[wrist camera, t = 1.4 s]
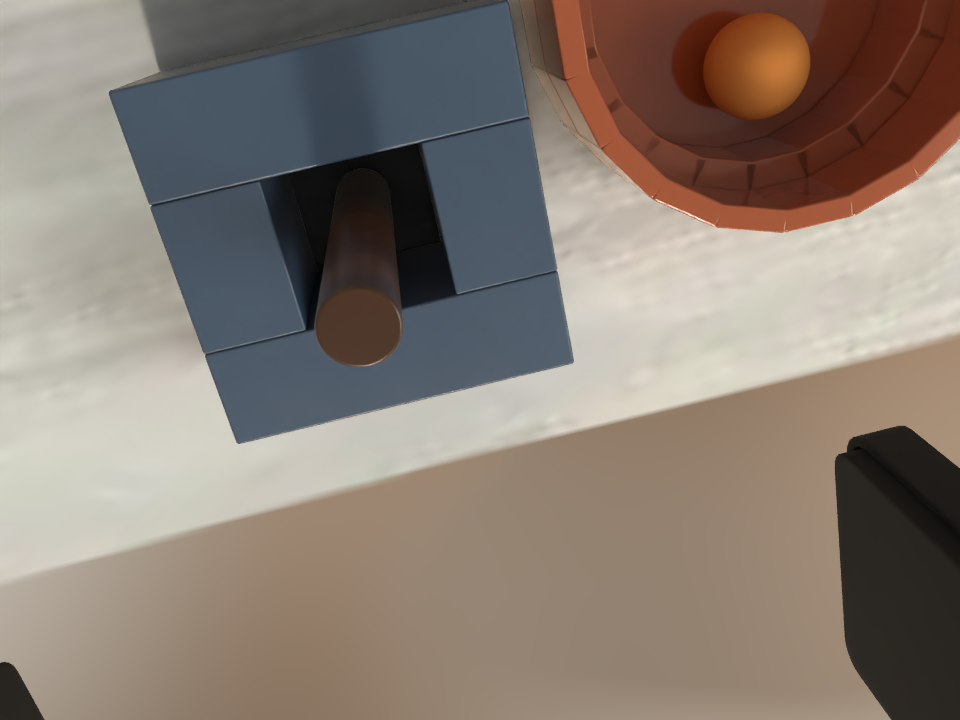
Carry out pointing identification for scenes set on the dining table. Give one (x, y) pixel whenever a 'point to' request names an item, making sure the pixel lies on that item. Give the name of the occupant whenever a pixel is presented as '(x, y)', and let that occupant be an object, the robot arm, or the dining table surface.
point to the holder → (281, 232)
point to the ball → (756, 66)
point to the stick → (360, 275)
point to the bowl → (755, 143)
